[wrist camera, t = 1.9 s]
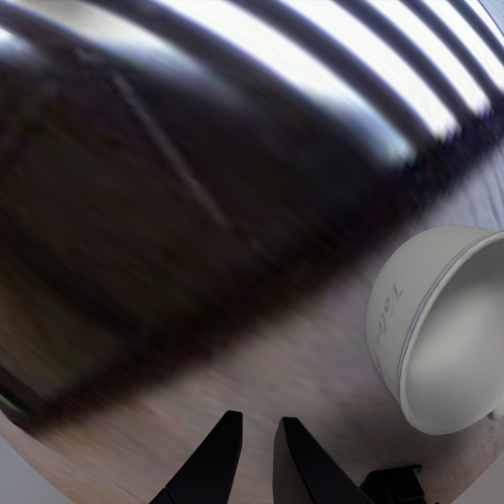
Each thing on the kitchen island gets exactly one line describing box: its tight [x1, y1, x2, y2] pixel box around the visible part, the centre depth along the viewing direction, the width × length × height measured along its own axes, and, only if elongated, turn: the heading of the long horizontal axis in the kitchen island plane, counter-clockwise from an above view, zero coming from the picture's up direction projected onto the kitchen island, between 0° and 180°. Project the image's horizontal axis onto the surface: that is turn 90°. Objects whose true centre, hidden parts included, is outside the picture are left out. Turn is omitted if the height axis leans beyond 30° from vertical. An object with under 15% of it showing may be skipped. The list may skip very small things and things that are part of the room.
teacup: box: [365, 225, 504, 435], centre depth 15 cm, size 14×11×8 cm
